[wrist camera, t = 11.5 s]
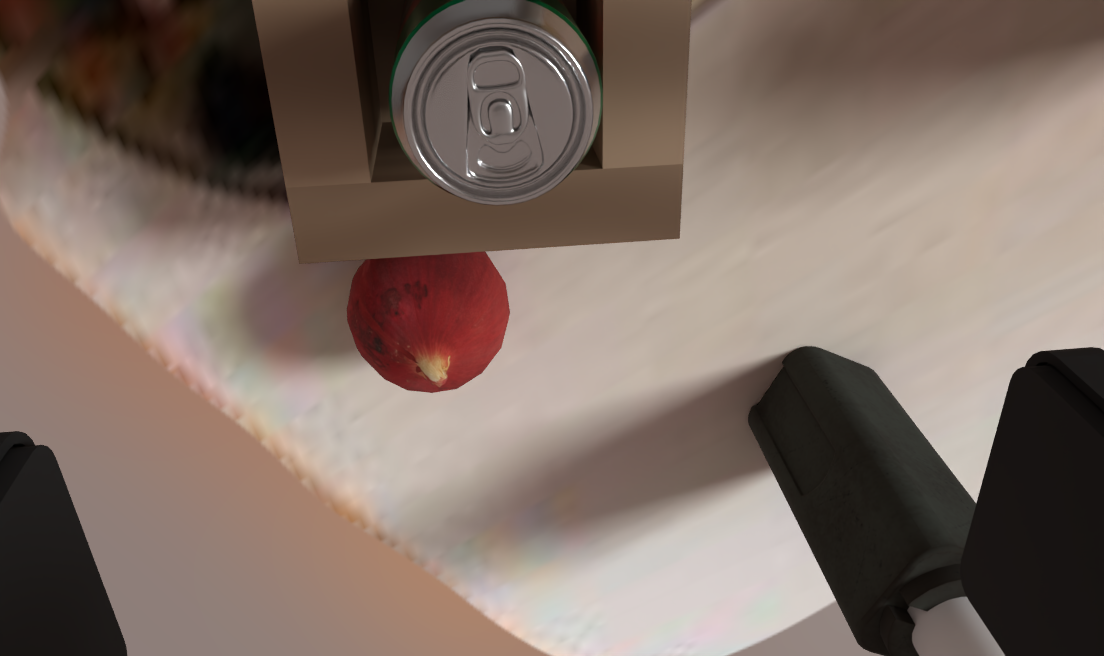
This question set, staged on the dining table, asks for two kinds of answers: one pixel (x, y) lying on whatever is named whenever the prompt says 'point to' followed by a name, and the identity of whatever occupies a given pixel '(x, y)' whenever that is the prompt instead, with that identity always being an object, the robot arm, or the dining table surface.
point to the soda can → (493, 96)
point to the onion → (428, 318)
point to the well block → (420, 206)
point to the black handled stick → (872, 506)
